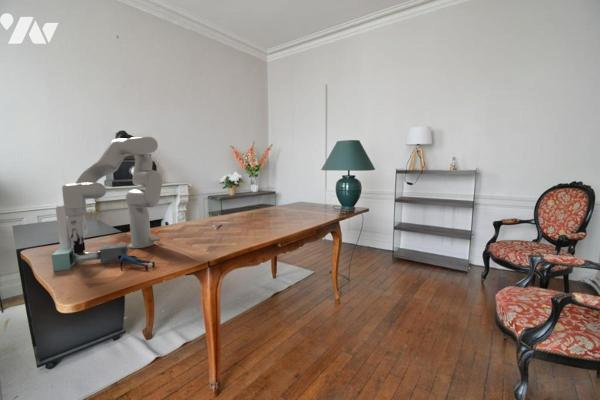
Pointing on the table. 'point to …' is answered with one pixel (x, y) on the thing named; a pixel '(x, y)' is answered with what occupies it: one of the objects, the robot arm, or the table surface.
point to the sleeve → (112, 253)
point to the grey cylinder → (63, 228)
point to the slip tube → (84, 256)
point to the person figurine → (135, 261)
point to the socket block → (62, 259)
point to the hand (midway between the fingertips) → (79, 251)
